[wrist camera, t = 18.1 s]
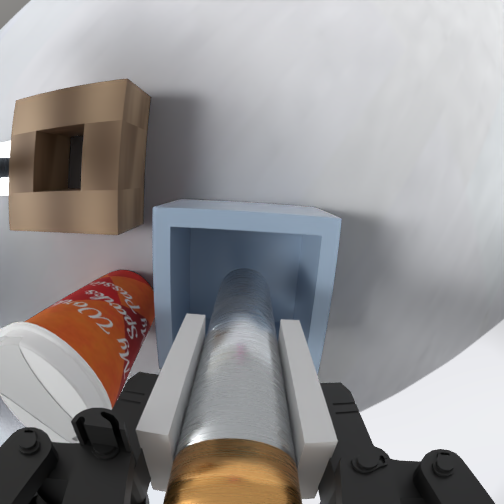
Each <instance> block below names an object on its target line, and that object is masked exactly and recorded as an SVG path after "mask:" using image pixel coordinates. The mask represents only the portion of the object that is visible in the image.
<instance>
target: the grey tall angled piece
mask: <svg viewBox="0 0 504 504" xmlns="http://www.w3.org/2000/svg"><path fill="white" fill-rule="evenodd" d="M9 159H10V158H5V157H0V178H8V177H9Z"/></svg>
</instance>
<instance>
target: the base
mask: <svg viewBox="0 0 504 504" xmlns="http://www.w3.org/2000/svg"><path fill="white" fill-rule="evenodd" d="M10 145H11V141H8V142H3V143H0V157H5V158H10ZM1 195H9V177H8V178H0V196H1Z"/></svg>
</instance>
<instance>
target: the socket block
mask: <svg viewBox="0 0 504 504" xmlns="http://www.w3.org/2000/svg"><path fill="white" fill-rule="evenodd" d="M150 99H151V97H150V96H149V95H148V94H146V93H145V92H144V91H143V90H141V89H140V88H139V87H138V86H136V85H135V84H134V83H132V82H131V81H130V80H129V79H120V80H112V81H105V82H98V83H92V84H86V85H80V86H75V87H70V88H65V89H60V90H55V91H51V92H47V93H42V94H38V95H34V96H31V97H27V98H23V99H20V100H16V103H15V110H14V117H13V125H12V134H11V145H10V159H9V224H10V230H15V231H39V232H62V233H84V234H105V235H119V234H121V233H124V232H126V231H128V230H130V229H132V228H135V227H137V226H139V225H142V224H143V208H144V176H145V157H146V142H147V130H148V119H149V109H150ZM74 136H83V149H82V166H81V188H68V174H69V153H70V140H71V137H74Z"/></svg>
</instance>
